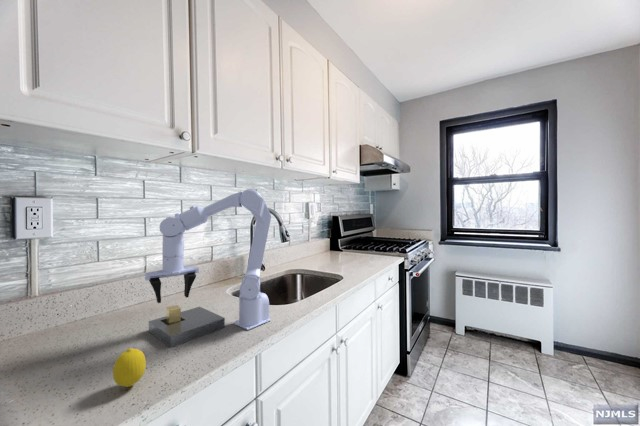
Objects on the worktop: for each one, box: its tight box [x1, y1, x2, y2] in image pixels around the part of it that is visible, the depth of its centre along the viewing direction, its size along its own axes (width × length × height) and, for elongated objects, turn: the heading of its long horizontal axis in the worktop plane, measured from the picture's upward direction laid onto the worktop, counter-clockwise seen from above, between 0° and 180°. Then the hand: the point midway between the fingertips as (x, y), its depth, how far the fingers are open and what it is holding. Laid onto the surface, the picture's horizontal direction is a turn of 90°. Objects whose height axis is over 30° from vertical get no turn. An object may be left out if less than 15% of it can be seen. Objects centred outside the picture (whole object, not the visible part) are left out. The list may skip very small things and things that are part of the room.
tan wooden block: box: [165, 304, 182, 325], centre depth 80 cm, size 3×4×7 cm
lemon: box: [112, 347, 147, 388], centre depth 54 cm, size 6×6×8 cm
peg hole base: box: [148, 306, 226, 348], centre depth 81 cm, size 16×16×3 cm
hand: (173, 299), depth 80 cm, fingers open, 7 cm apart
